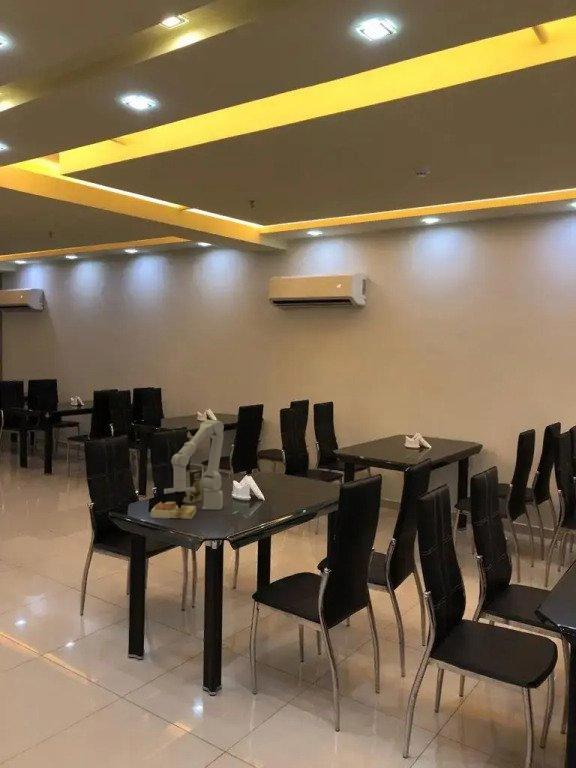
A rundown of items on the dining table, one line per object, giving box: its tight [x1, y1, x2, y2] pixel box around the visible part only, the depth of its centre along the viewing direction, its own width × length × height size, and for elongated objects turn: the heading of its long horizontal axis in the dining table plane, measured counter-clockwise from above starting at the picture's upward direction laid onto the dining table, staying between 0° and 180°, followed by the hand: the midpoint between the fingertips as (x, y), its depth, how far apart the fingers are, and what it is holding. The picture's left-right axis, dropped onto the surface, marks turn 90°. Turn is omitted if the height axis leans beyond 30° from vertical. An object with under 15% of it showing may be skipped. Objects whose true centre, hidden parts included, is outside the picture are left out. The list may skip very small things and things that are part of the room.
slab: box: [169, 505, 197, 520], centre depth 295 cm, size 10×13×3 cm
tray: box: [150, 506, 172, 519], centre depth 295 cm, size 9×13×4 cm
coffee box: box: [182, 468, 203, 504], centre depth 324 cm, size 9×6×16 cm
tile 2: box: [162, 501, 177, 509], centre depth 297 cm, size 4×4×2 cm
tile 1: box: [153, 501, 166, 510], centre depth 296 cm, size 4×4×2 cm
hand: (179, 507), depth 295 cm, fingers closed
